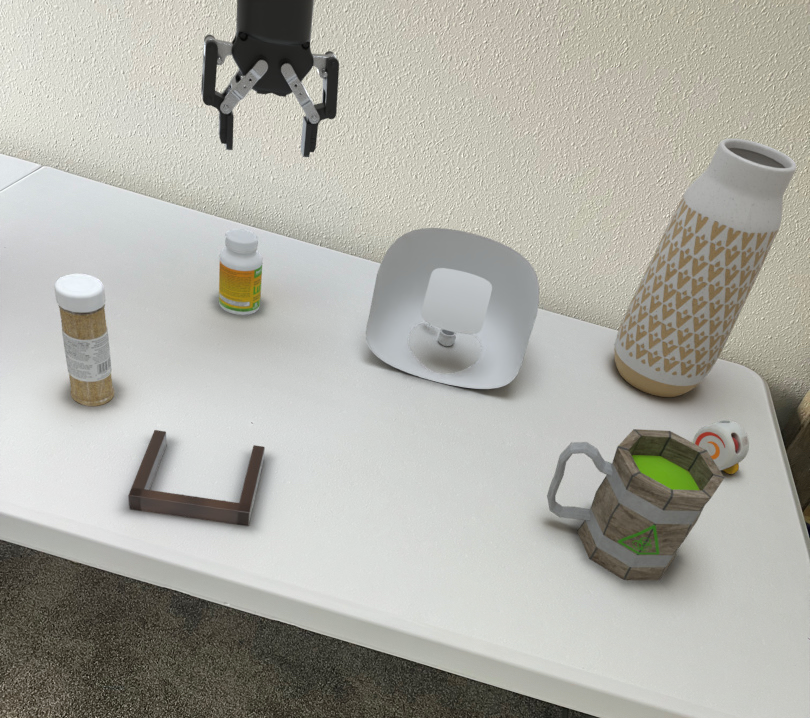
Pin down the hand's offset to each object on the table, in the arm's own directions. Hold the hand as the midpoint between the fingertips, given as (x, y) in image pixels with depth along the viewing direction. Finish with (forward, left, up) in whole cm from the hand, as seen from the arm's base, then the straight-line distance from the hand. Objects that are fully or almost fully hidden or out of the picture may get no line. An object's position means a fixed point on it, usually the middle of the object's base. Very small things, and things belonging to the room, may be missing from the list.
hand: (267, 151), depth 88 cm
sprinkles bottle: (-15, -22, -21) cm, 34 cm away
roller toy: (+59, -16, -21) cm, 65 cm away
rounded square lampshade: (+25, +1, -21) cm, 33 cm away
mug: (+42, -33, -21) cm, 58 cm away
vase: (+55, +2, -21) cm, 59 cm away
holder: (-1, -33, -21) cm, 39 cm away
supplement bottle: (-3, +2, -21) cm, 22 cm away
